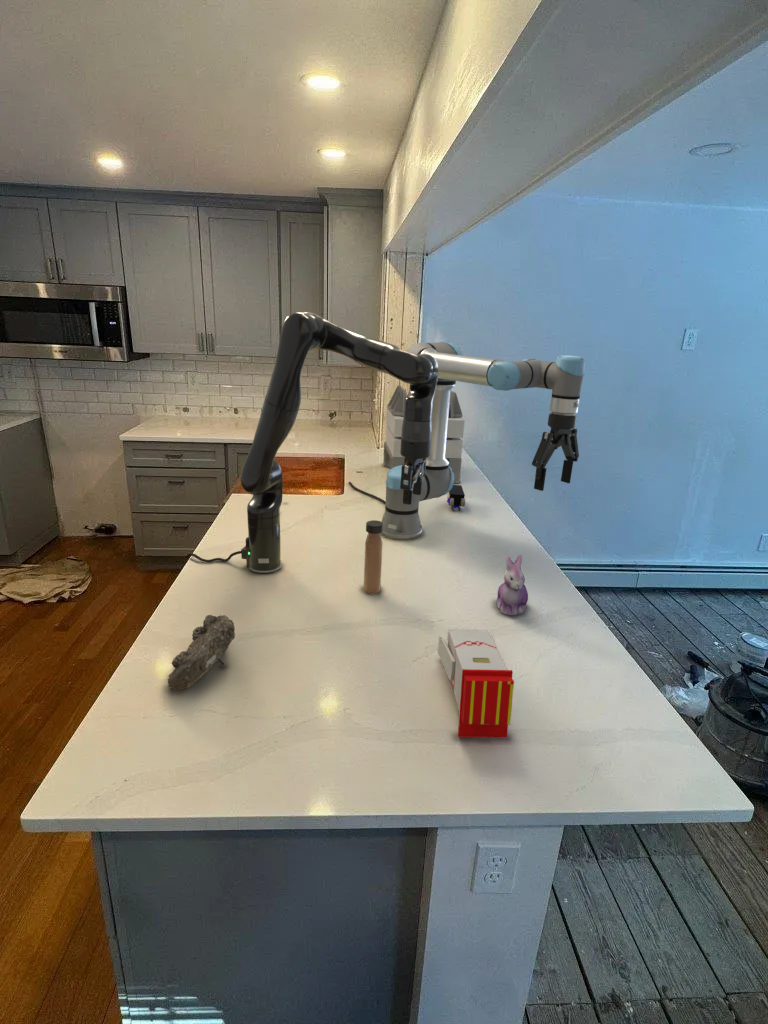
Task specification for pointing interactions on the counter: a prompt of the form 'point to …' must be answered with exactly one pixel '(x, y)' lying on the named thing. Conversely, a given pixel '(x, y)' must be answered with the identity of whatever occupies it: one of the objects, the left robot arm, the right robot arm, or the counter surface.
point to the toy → (478, 682)
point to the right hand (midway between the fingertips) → (552, 485)
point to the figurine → (512, 589)
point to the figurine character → (456, 497)
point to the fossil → (202, 651)
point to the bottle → (372, 563)
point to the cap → (374, 527)
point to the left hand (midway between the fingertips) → (412, 499)
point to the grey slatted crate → (395, 427)
